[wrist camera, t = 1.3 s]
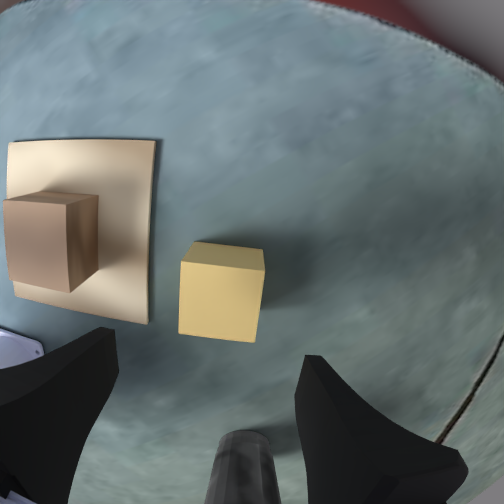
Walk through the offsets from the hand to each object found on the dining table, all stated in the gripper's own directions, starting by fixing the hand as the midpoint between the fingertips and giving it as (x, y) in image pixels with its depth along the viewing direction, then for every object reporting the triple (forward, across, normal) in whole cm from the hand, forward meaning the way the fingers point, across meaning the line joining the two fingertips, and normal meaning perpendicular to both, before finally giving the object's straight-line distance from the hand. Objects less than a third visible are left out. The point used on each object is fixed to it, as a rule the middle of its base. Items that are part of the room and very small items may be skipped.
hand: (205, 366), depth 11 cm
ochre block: (+10, 0, 0) cm, 10 cm away
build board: (+9, +11, -2) cm, 15 cm away
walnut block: (+9, +11, -2) cm, 14 cm away
